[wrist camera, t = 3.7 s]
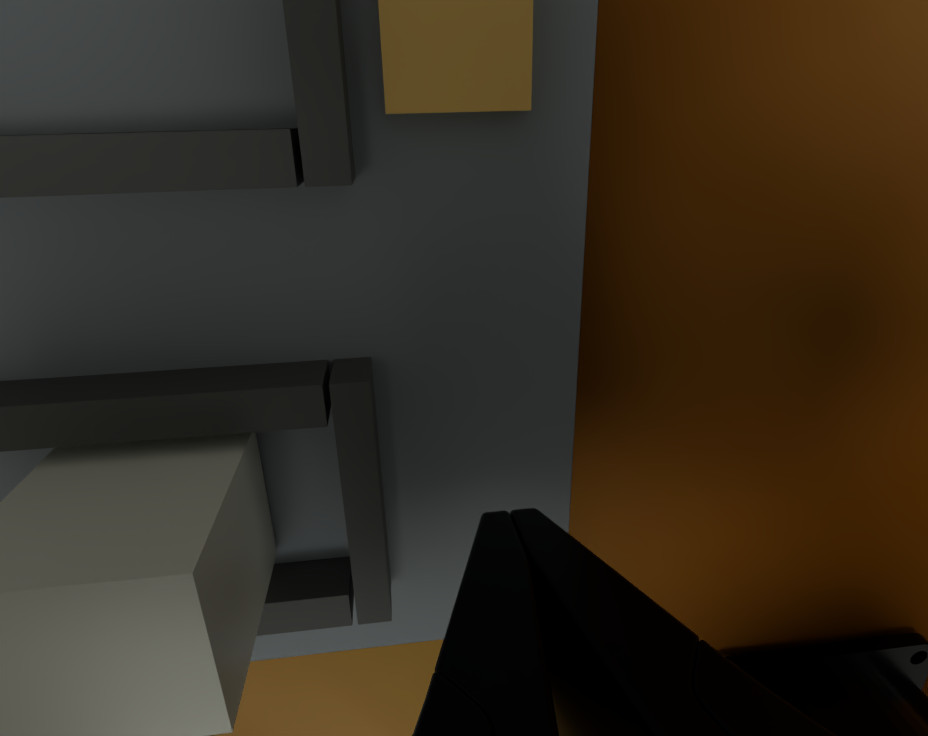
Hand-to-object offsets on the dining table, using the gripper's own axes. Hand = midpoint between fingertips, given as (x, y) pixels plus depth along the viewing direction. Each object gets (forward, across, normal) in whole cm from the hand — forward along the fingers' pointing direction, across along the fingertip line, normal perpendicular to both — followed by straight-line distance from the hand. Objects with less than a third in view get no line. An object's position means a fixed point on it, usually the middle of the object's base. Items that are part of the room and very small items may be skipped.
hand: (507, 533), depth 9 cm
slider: (+2, +5, 0) cm, 6 cm away
